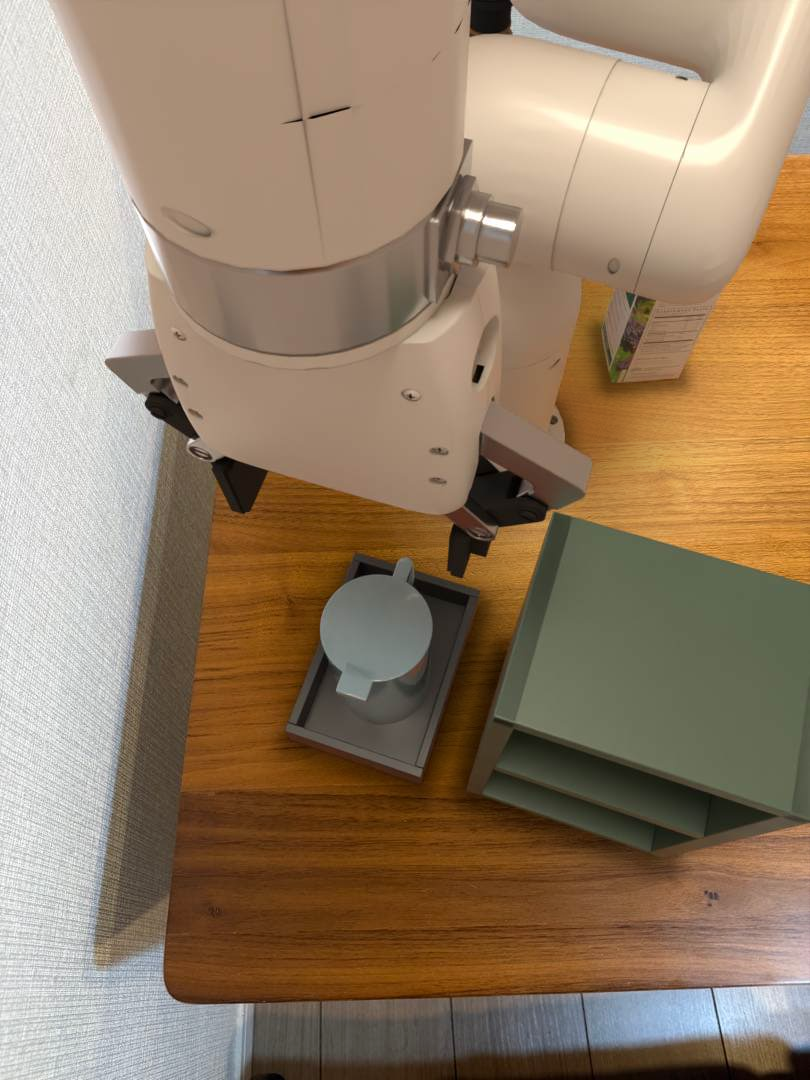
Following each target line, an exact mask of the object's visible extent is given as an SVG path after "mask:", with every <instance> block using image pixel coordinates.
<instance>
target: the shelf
mask: <svg viewBox="0 0 810 1080" xmlns="http://www.w3.org/2000/svg"><path fill="white" fill-rule="evenodd" d="M476 751H477V752H476V754H475V758H474V761H473V765H472V768H471V772H470V775H469V779H468V782H467V784H466V789H465V791H466V792H468V793H471V794H475V795H477V796H481V797H482V798H486V799H488V800H492V801H495V802H498V803H501V804H504V805H506V806H509V807H512V808H515V809H518V810H520V811H524V812H527V813H529V814H532V815H535V816H538V817H541V818H544V819H547V820H549V821H553V822H556V823H558V824H562V825H564V826H567V827H570V828H573V829H576V830H579V831H582V832H584V833H588V834H591V835H594V836H597V837H599V838H602V839H605V840H608V841H611V842H614V843H616V844H619V845H622V846H626V847H629V848H632V849H634V850H637V851H640V852H643V853H646V854H649V855H652V856H655V857H658V858H661V859H665V858H670V857H674V856H678V855H682V854H685V853H689V852H694V851H698V850H702V849H706V848H712V847H715V846H719V845H723V844H727V843H731V842H736V841H740V840H743V839H748V838H753V837H757V836H761V835H766V834H769V833H774V832H778V831H782V830H787V829H790V828H795V827H798V826H803V825H807V824H810V584H809V583H807V582H803V581H799V580H795V579H792V578H789V577H785V576H781V575H778V574H775V573H772V572H767V571H764V570H761V569H758V568H753V567H749V566H747V565H742V564H739V563H736V562H733V561H730V560H725V559H723V558H718V557H716V556H712V555H708V554H705V553H701V552H698V551H694V550H691V549H687V548H683V547H680V546H677V545H673V544H670V543H666V542H663V541H659V540H656V539H653V538H649V537H646V536H643V535H639V534H635V533H631V532H628V531H625V530H621V529H618V528H614V527H610V526H607V525H605V524H604V525H603V524H600V523H598V522H597V523H596V522H593V521H590V520H587V519H583V518H579V517H577V516H576V517H575V516H572V515H568V514H565V513H562V512H558V511H556V510H555V511H553V512H552V514H551V517H550V520H549V522H548V525H547V528H546V531H545V535H544V538H543V541H542V544H541V546H540V549H539V554H538V556H537V559H536V563H535V565H534V568H533V571H532V574H531V578H530V580H529V584H528V586H527V590H526V593H525V596H524V599H523V602H522V604H521V608H520V611H519V614H518V617H517V620H516V622H515V626H514V629H513V632H512V635H511V638H510V641H509V644H508V647H507V650H506V653H505V657H504V660H503V664H502V667H501V670H500V673H499V676H498V680H497V684H496V687H495V691H494V693H493V698H492V701H491V703H490V708H489V711H488V713H487V717H486V721H485V724H484V728H483V731H482V734H481V738H480V740H479V745H478V748H477V750H476Z"/></svg>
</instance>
